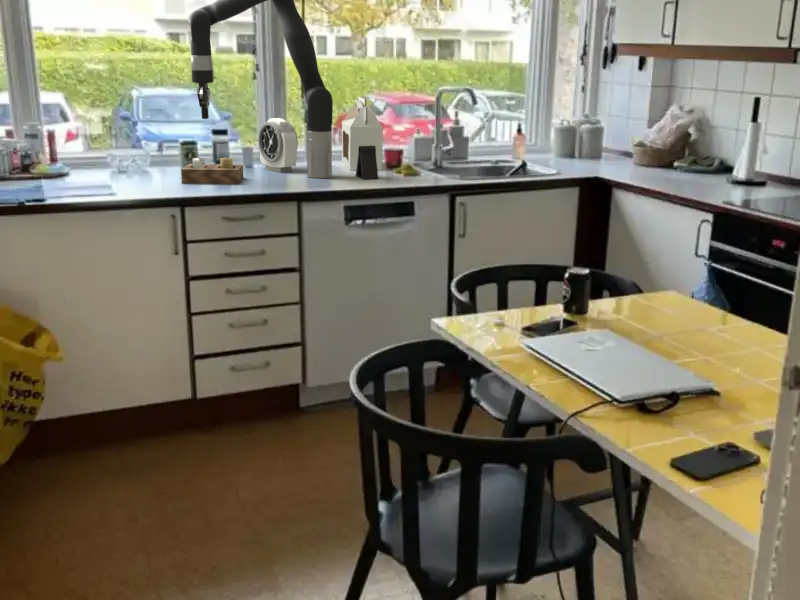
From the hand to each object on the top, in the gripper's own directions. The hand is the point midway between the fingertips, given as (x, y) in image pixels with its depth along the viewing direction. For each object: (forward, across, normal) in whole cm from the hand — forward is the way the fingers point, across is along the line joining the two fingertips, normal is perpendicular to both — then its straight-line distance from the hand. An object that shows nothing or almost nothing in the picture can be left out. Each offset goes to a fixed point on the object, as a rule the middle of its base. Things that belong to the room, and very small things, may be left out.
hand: (205, 118), depth 308 cm
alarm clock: (+23, +25, -23) cm, 41 cm away
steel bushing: (+22, -3, +3) cm, 22 cm away
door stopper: (+23, +9, -58) cm, 63 cm away
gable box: (+23, +38, -56) cm, 72 cm away
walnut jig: (+22, -3, -2) cm, 22 cm away
